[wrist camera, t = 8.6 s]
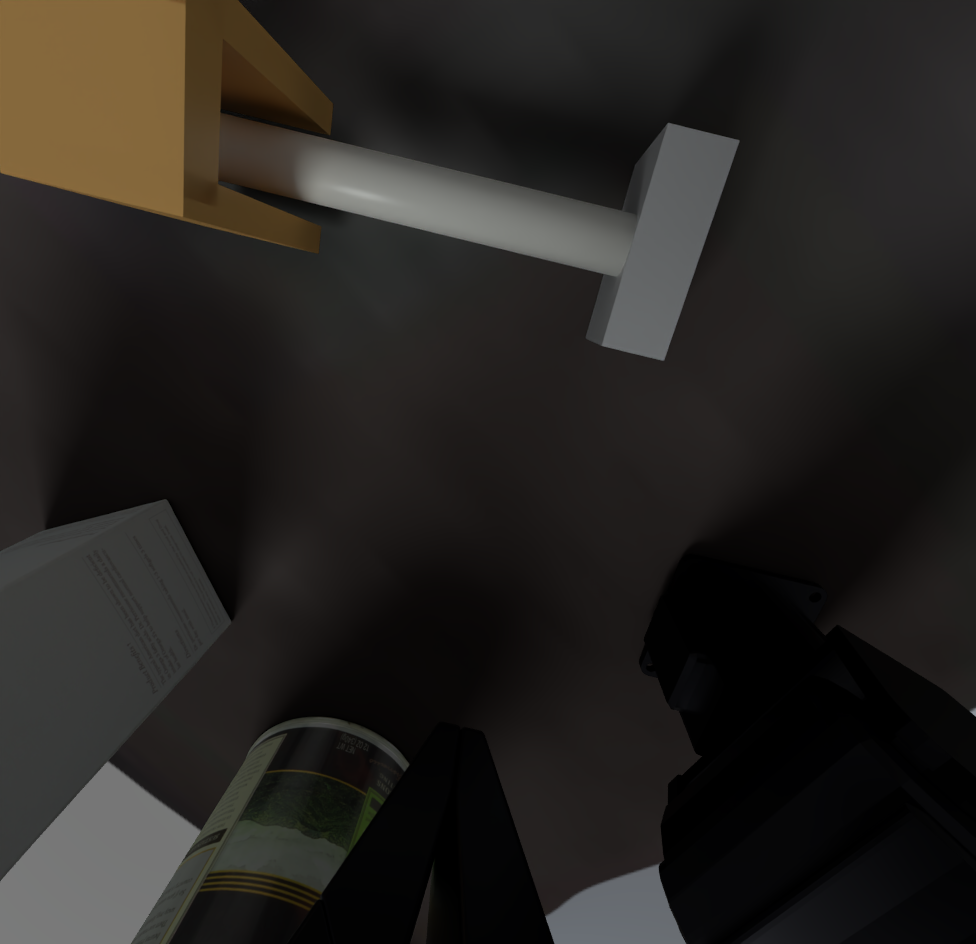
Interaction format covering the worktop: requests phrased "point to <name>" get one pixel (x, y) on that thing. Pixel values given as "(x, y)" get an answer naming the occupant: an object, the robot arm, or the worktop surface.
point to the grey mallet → (520, 213)
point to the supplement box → (90, 652)
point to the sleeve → (148, 105)
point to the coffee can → (277, 835)
